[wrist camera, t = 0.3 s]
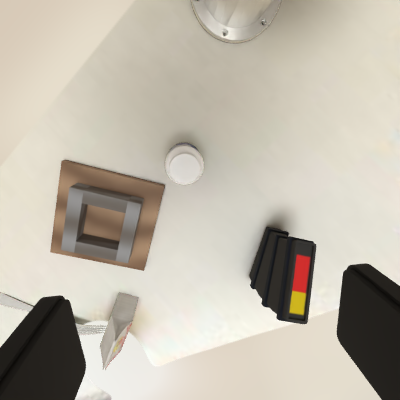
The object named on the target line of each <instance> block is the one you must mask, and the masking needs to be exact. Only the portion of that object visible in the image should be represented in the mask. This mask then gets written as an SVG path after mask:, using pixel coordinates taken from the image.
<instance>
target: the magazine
mask: <svg viewBox="0 0 400 400" xmlns="http://www.w3.org/2000/svg"><path fill="white" fill-rule="evenodd" d="M288 235H289V233H288V232H286V231H282V230H279V229H275V228H270V227H267V228H266V231H265V233H264V236H263V239H262V242H261V245H260V247H259V250H258V253H257V256H256V259H255V262H254V264H253V267H252V270H251V273H250V279H251V284H250V286H251V288H252V289H256V290H257V292H258V294H259V295H260V297H261V298H262V305H263V306H264V307H269V308H271V310H272V311H274V312H275V313H276V314H277V319H278V320H281V321H287V322H293V323H300V324H307V322H308V314H309V305H310V296H311V288H312V279H313V270H314V262H315V253H316V244H315V243H314V242H313V241H308V240H304V239H299V238H294V237H288Z"/></svg>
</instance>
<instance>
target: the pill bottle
mask: <svg viewBox="0 0 400 400" xmlns="http://www.w3.org/2000/svg"><path fill="white" fill-rule="evenodd" d="M165 170H166V173H167V175H168V177H169V178H170V179H171V180H172V181H173V182H175V183H177V184H180V185H189V184H192V183H194V182H196V181H197V180H198V179H199V178H200V177H201V175H202V173H203V170H204V161H203V158H202V156H201V154H200V152H199V151H198V150H197V148H196V147H195V146H193V145H192V144H189V143H178V144H176V145H174V146H173V147H172V148H171V149H170V151H169V152H168V155H167V157H166V160H165Z"/></svg>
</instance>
